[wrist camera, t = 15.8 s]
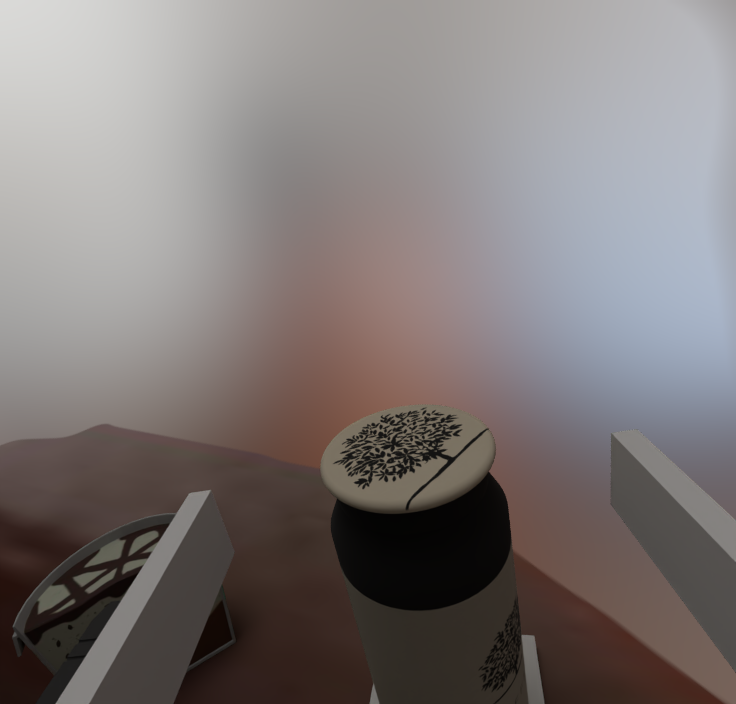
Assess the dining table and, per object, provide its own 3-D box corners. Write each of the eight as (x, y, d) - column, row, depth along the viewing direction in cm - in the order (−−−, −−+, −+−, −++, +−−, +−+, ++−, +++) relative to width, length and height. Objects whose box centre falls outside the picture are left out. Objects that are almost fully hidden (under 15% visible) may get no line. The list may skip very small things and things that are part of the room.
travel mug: (360, 711, 25) (282, 455, 19) (451, 621, 29) (410, 387, 24) (463, 858, 19) (394, 547, 13) (561, 717, 23) (542, 431, 17)
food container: (237, 577, 38) (202, 485, 35) (255, 630, 33) (215, 528, 30) (82, 662, 33) (23, 564, 30) (74, 740, 28) (1, 632, 25)
